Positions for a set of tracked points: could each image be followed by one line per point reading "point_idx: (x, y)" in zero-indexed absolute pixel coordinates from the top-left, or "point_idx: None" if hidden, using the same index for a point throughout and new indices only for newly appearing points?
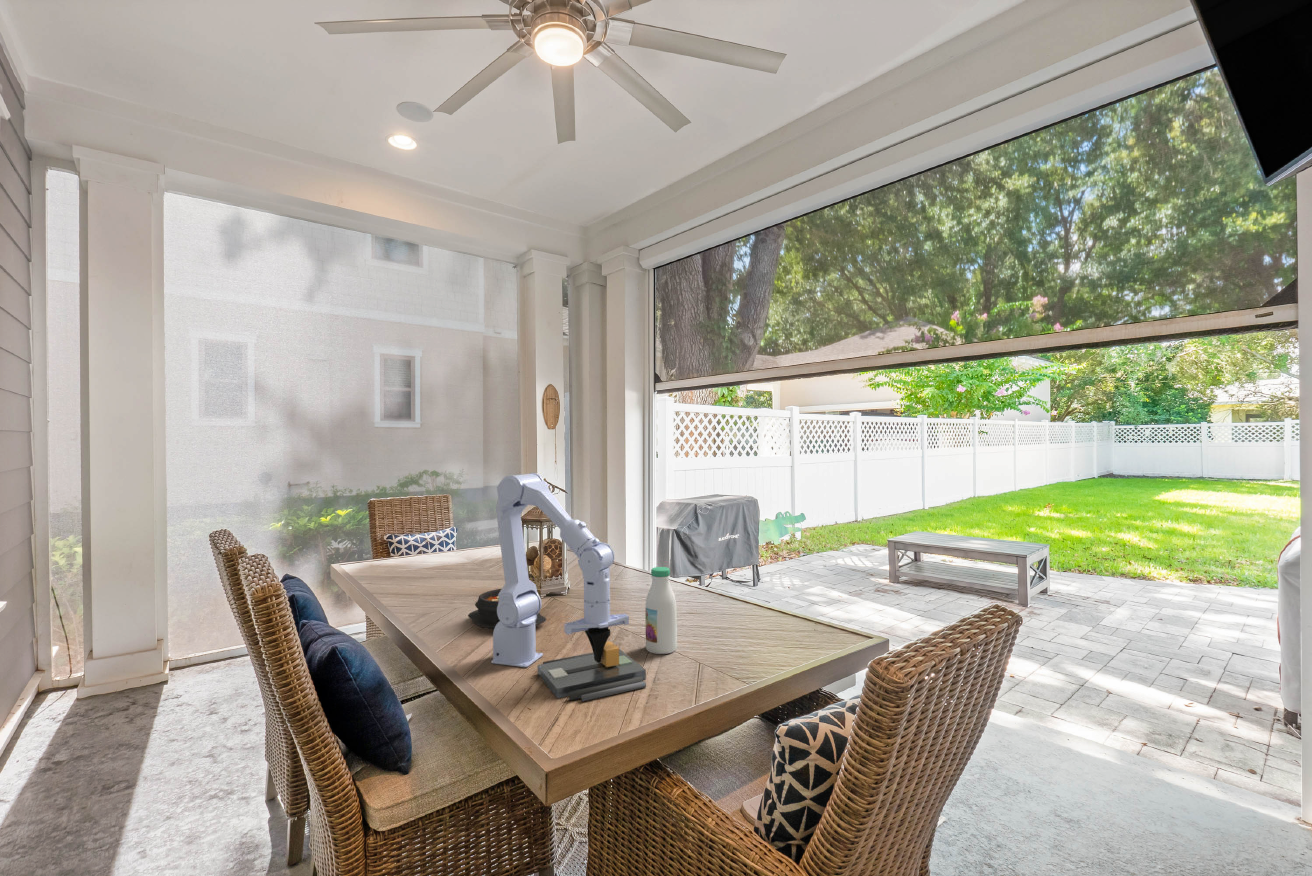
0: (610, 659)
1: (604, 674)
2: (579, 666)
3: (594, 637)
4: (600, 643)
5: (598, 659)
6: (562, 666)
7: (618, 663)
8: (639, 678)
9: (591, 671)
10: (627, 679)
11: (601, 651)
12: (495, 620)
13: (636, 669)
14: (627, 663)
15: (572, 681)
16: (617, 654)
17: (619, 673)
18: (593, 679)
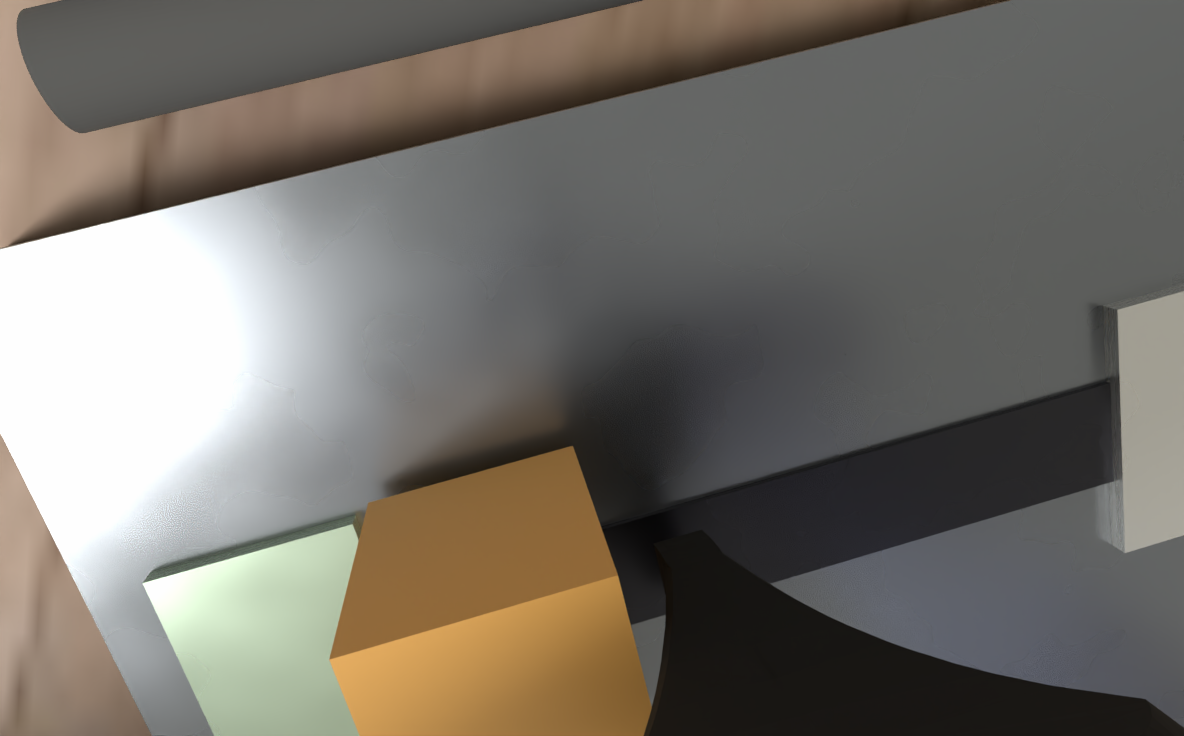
0: (514, 511)
1: (630, 244)
2: (897, 582)
3: (1105, 717)
4: (787, 689)
5: (708, 542)
6: (1081, 616)
7: (376, 510)
8: (72, 27)
9: (786, 395)
10: (287, 23)
11: (696, 611)
12: None
13: (93, 316)
14: (228, 554)
15: (1099, 113)
16: (377, 578)
17: (397, 221)
18: (818, 101)
